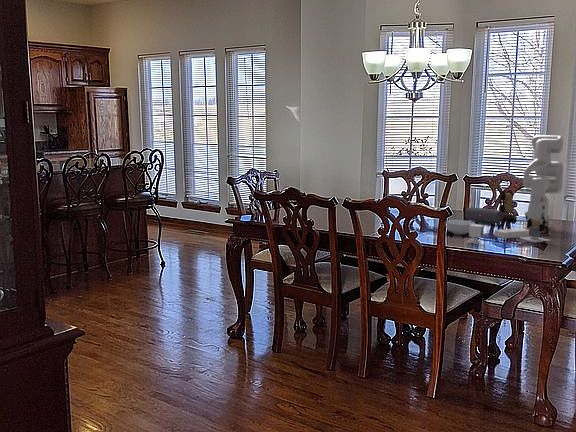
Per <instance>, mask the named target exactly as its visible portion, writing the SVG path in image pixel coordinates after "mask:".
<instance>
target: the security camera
mask: <svg viewBox="0 0 576 432" xmlns="http://www.w3.org/2000/svg"><path fill="white" fill-rule="evenodd" d="M484 225H485V224H477V223H475V224H472V225H470V227H469V233H468V237H469V239H468V240H467V242H466V243H467V244H471V243H474V245H478V244H480V243H481V240H480V239H481V238H483V236H484V228H485V226H484ZM477 238H480V239H477Z"/></svg>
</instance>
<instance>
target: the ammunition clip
mask: <svg viewBox="0 0 576 432" xmlns="http://www.w3.org/2000/svg"><path fill="white" fill-rule="evenodd" d="M547 216H548V217H549V219H548V221H547V223H546V224H545V225H546V226H545V230H544V231H541V235H542V234H546V235H545V236H549V229H550V224H549V221H550V216H549V214H548V215H547ZM531 221H532V226H538V227H540V224H541V223H539V220H537V221H536V220H533V219H532V220H531ZM542 222H543V221H542ZM548 228H549V229H548Z"/></svg>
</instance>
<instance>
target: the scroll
mask: <svg viewBox="0 0 576 432" xmlns="http://www.w3.org/2000/svg"><path fill="white" fill-rule="evenodd" d="M498 203H499V206H498V211H501V212H502V215H503V219H502V220H503V221H504V222H506V220H514V221H517V219H518V217H517V215H515V214H513V210H514V208H513V204H514V192H513V191H512V190H509V191H507V192H505V191H504V190H502V191H500V192H499V201H498ZM504 204H505V205H504Z"/></svg>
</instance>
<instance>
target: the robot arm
mask: <svg viewBox="0 0 576 432" xmlns="http://www.w3.org/2000/svg"><path fill="white" fill-rule="evenodd" d="M531 144H532V147H533V149H534V154H533V161H531V162H530V163H529V164H528V165H527V166H526V168H525V170H524V172H523V180H522V186H523V188H525V189H528V190H530V201H529V204H528V206H527V207H528V209H527V211H526V212H524V216H525V217H524V218H525V221H526V228H529V227H532V221H531V220H532V219H533V220H536V221H537V220H539V223H541V224H540V227H539V231H544V230H545V226H546V225H545V224H546V223H547V221H548V219H549V225H553V223H554V221H551V220H550V216H549V214H548V213H549V201H550V200H549V198H548V197H547V195H546V194H549V195H550V194H552V195H559V194H561V192H562V191H563V183H564V182H563V181H564V180H563V179H564V165H563V162H561V161H555V160H554V161H552V160H551V158H552V154H560V153H561V152H562V150H563V148H564V138H563V136H562V135H560V134H559V135H555V134H554V135H553V134H552V135H551V134H550V135H548V134H547V135H546V134H545V135H544V134H538V135H534V136H532V138H531ZM534 171H535V174H536V175H530V174H531V173H532V172H534ZM551 177H553V178H551ZM547 215H548V216H549V217H548V216H547ZM542 221H543V222H542ZM549 229H550V227H549V228H548V230H549Z"/></svg>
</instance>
